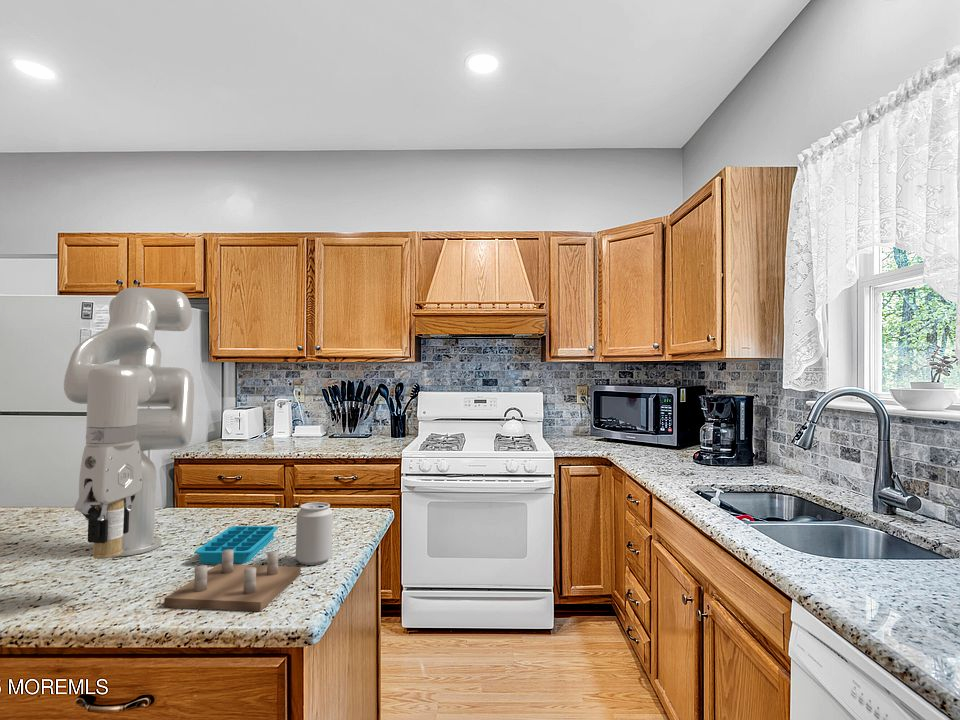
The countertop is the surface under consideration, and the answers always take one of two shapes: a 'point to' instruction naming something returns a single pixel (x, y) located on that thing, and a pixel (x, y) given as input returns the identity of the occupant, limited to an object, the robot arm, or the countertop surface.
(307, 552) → the can
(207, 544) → the ice cube tray
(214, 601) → the peg board
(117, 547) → the sprinkles bottle
